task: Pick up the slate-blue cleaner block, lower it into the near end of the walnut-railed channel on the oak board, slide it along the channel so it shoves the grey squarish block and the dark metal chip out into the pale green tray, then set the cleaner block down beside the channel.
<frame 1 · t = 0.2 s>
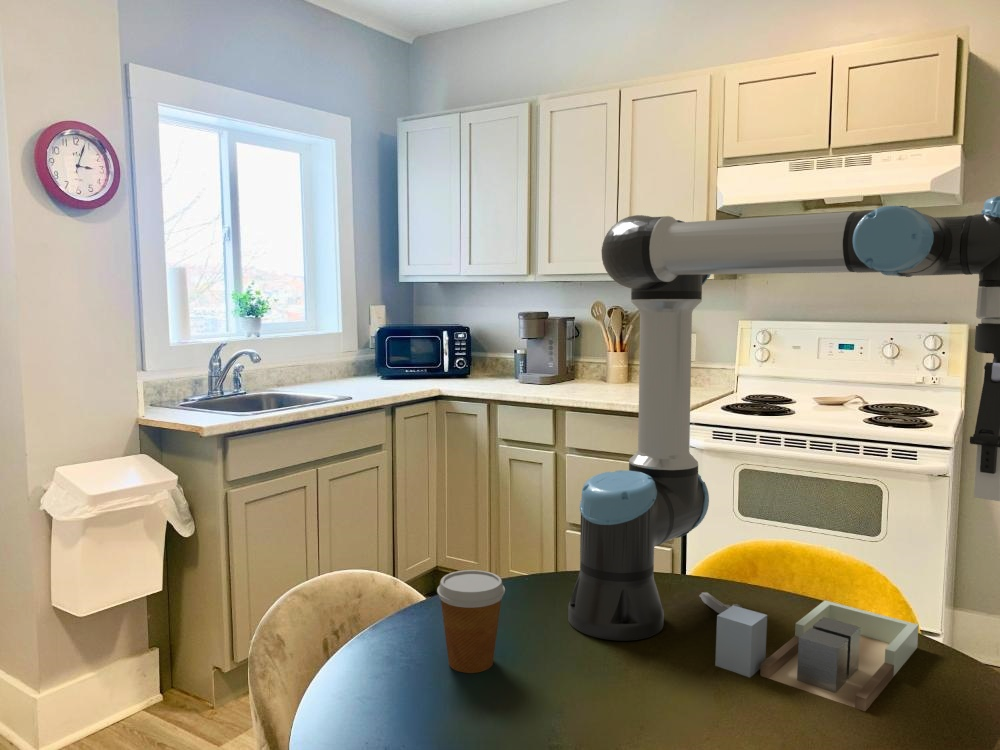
hand: (999, 489, 97), 28 cm above the table, tool pointing down, fingers open, 13 cm apart
chip b: (834, 668, 105), point 1 cm above the table, touching slot board
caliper: (719, 622, 123), on the table
grey squarish block: (821, 681, 102), point 1 cm above the table, touching slot board
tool: (740, 670, 106), on the table
slot board: (841, 666, 108), on the table
disposable coffee cup: (470, 664, 108), on the table
tray: (855, 652, 112), resting on slot board
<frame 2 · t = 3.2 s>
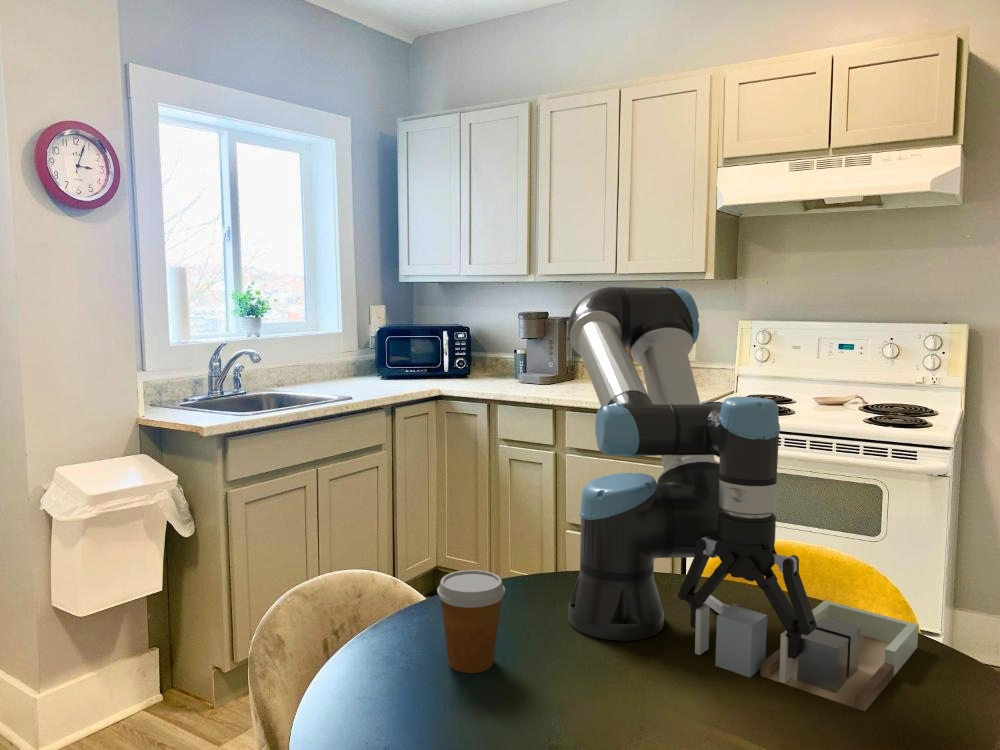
hand: (742, 664, 106), 1 cm above the table, tool pointing down, fingers open, 12 cm apart
nothing on the table moved.
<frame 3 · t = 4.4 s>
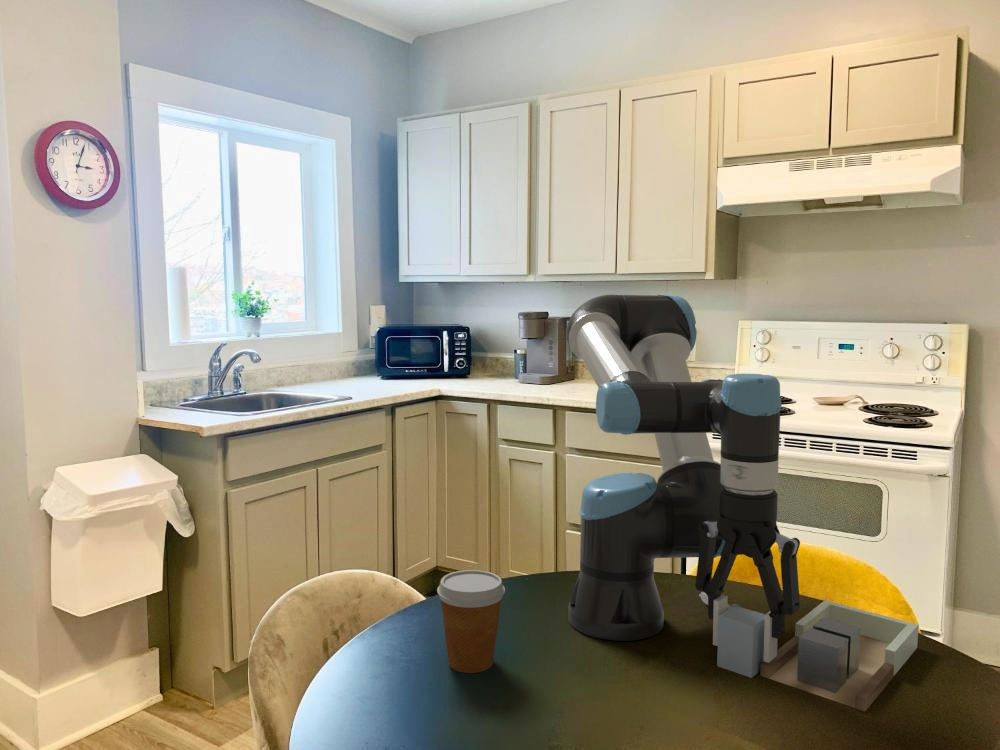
hand: (744, 649, 106), 3 cm above the table, tool pointing down, fingers open, 7 cm apart
nothing on the table moved.
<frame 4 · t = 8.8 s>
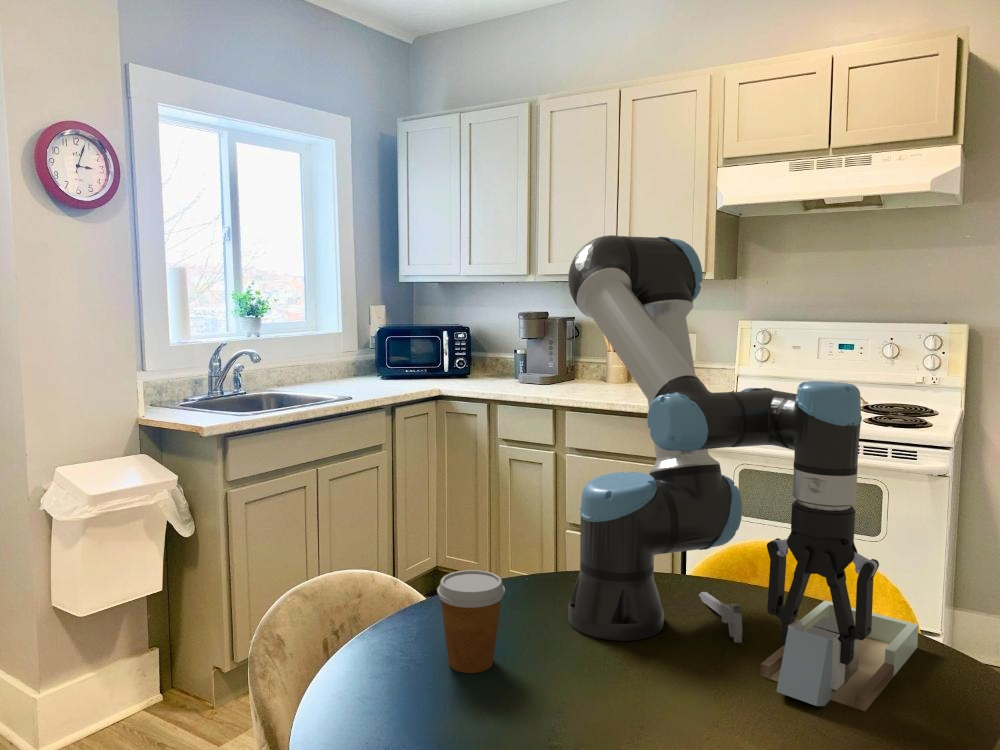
hand: (814, 677, 99), 2 cm above the table, tool pointing down, fingers closed on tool, 5 cm apart
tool: (802, 698, 97), point 1 cm above the table, tilted 22°, touching gripper, slot board
everything else where it was.
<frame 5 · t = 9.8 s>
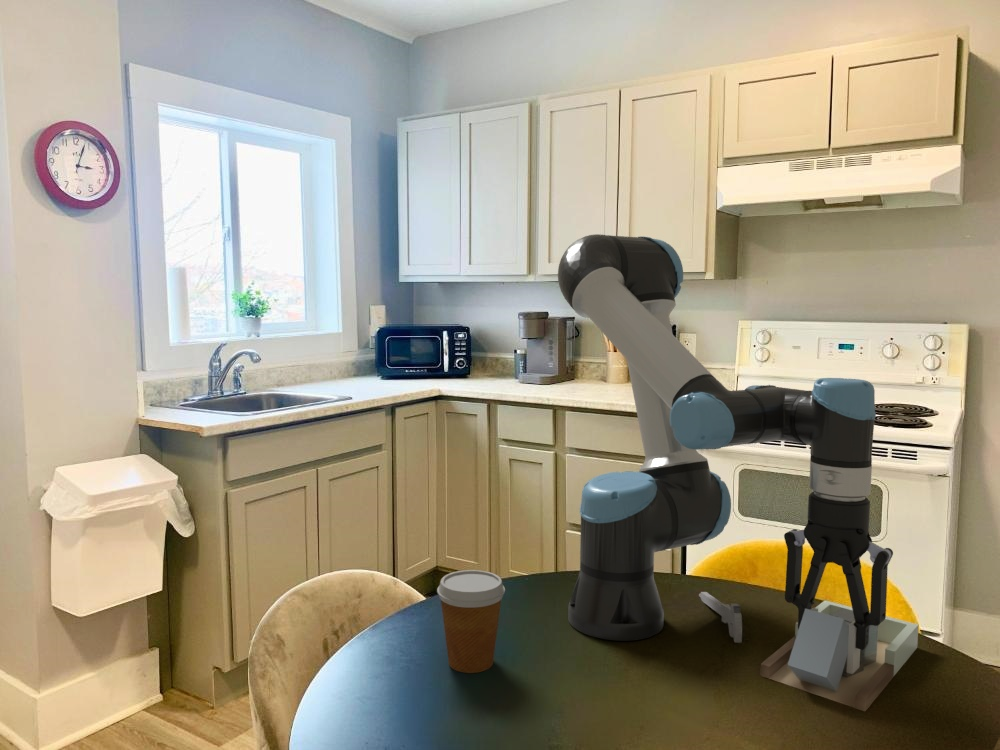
hand: (830, 662, 104), 2 cm above the table, tool pointing down, fingers closed on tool, 5 cm apart
chip b: (851, 658, 108), point 1 cm above the table, touching grey squarish block
grey squarish block: (838, 666, 106), point 1 cm above the table, touching chip b, gripper, slot board, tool
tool: (812, 678, 99), point 3 cm above the table, tilted 41°, touching grey squarish block, gripper
everything else where it was.
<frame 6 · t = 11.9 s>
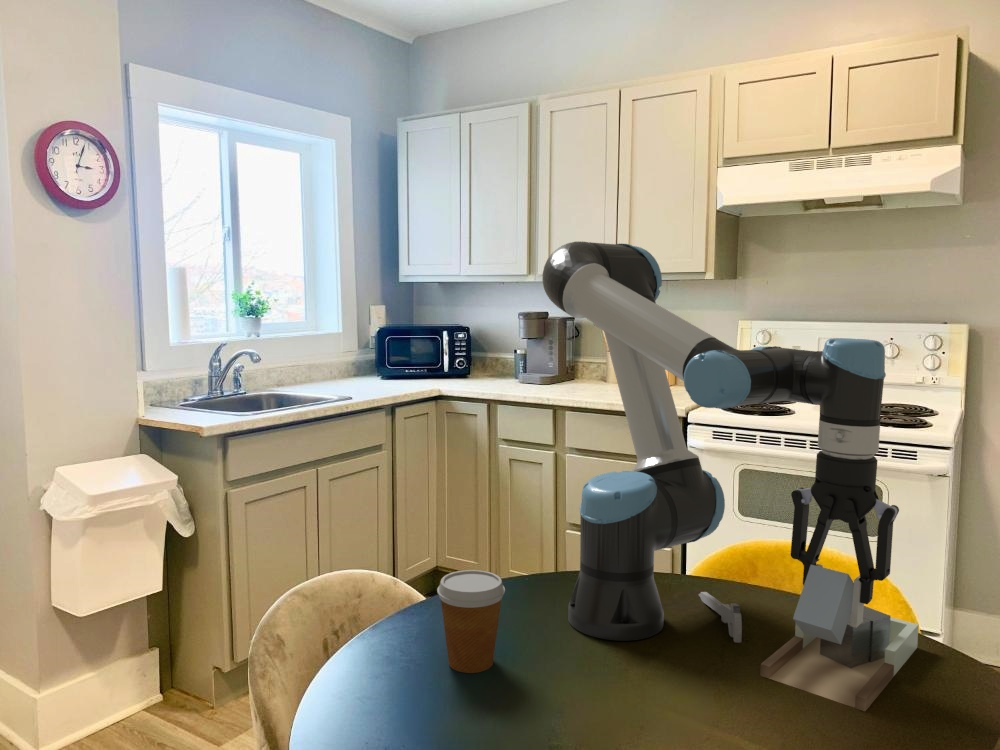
hand: (834, 617, 106), 8 cm above the table, tool pointing down, fingers closed on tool, 5 cm apart
chip b: (863, 652, 110), point 1 cm above the table, touching slot board
grey squarish block: (844, 658, 108), point 1 cm above the table, touching slot board
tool: (816, 631, 101), point 8 cm above the table, tilted 39°, touching gripper
everything else where it was.
when the fingers open (1 cm above the table, at t = 15.3 s): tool moves 2 cm and tips over, point 2 cm above the table.
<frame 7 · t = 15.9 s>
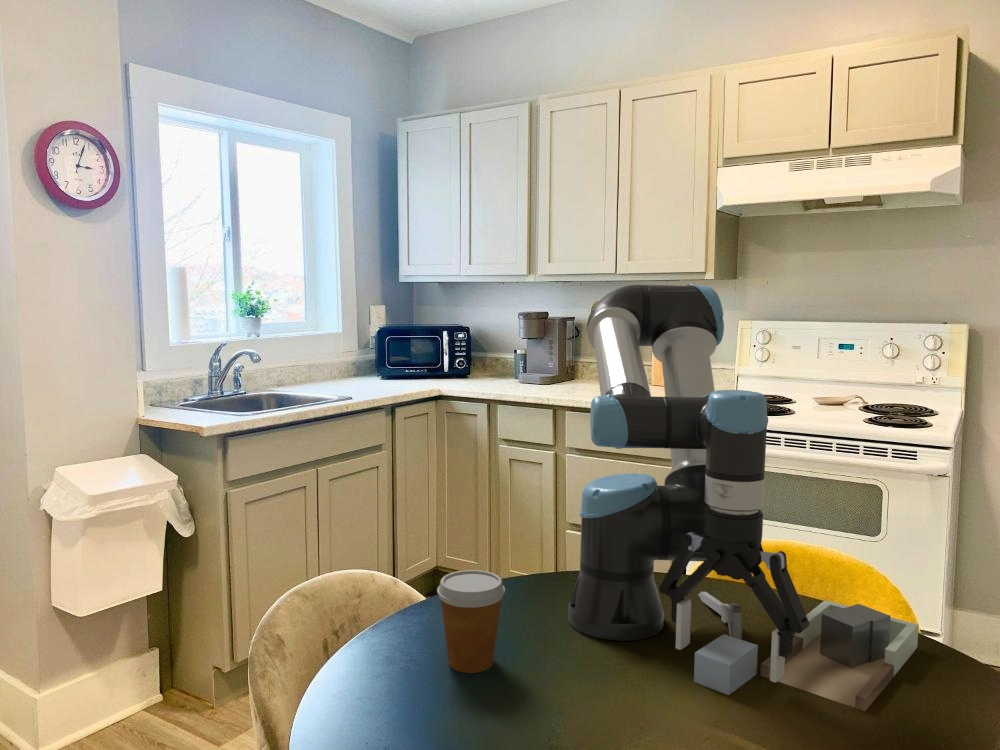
hand: (727, 661, 103), 3 cm above the table, tool pointing down, fingers open, 13 cm apart
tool: (711, 677, 100), point 2 cm above the table, tilted 90°
everything else where it was.
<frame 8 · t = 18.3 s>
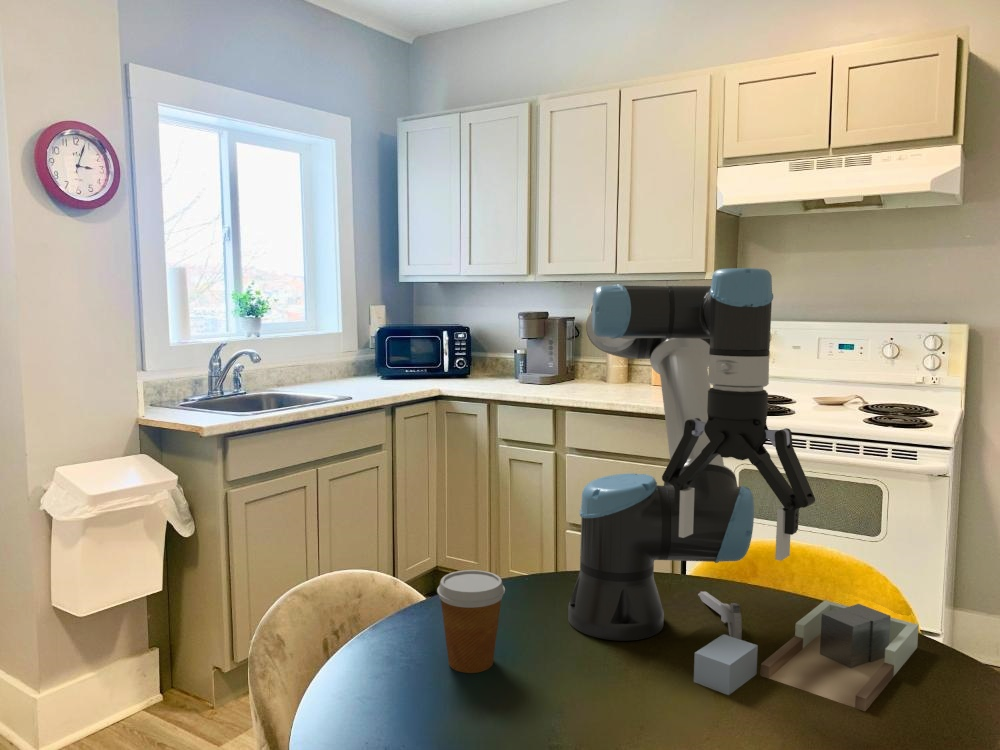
hand: (732, 546, 102), 19 cm above the table, tool pointing down, fingers open, 13 cm apart
nothing on the table moved.
at the end: grey squarish block inside the target area on the tray (4.9 cm from its centre), point 0.8 cm above the tray's base; chip b inside the target area on the tray (1.8 cm from its centre), point 0.8 cm above the tray's base; the gripper is holding nothing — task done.
